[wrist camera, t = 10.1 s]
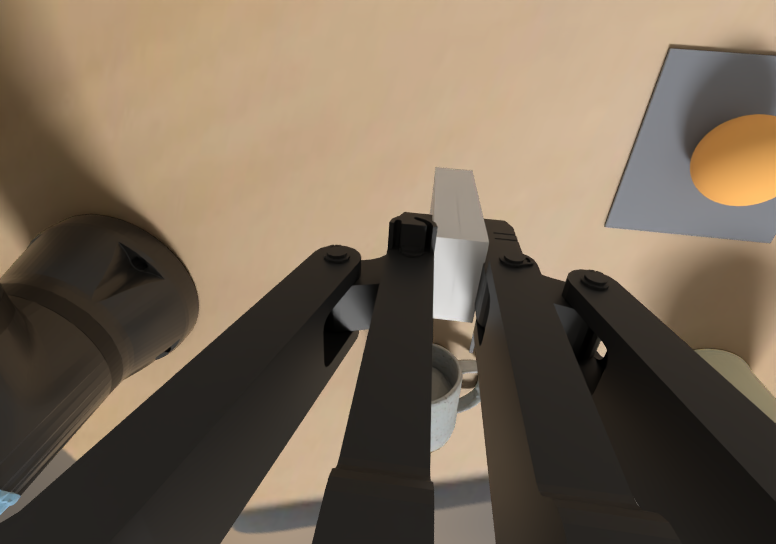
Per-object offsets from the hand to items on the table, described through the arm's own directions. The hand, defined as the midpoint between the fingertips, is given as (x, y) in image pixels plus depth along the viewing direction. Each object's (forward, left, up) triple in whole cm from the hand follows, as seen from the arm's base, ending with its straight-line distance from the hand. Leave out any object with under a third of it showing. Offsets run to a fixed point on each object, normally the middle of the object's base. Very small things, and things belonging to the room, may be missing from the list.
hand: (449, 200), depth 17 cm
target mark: (+19, 0, -14) cm, 24 cm away
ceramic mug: (+2, -23, -14) cm, 27 cm away
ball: (+19, 0, -11) cm, 22 cm away
